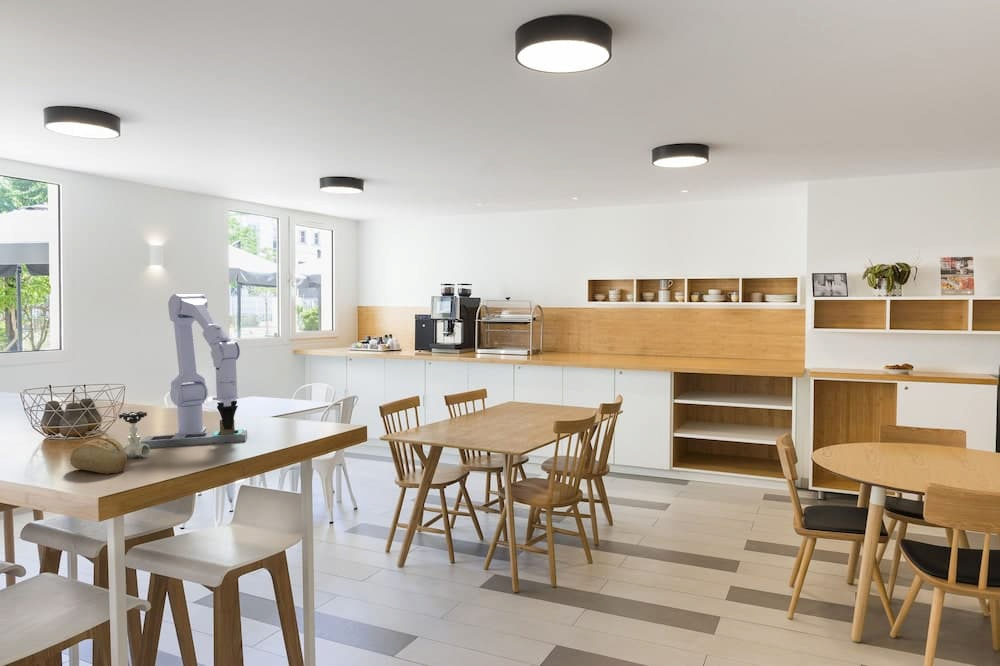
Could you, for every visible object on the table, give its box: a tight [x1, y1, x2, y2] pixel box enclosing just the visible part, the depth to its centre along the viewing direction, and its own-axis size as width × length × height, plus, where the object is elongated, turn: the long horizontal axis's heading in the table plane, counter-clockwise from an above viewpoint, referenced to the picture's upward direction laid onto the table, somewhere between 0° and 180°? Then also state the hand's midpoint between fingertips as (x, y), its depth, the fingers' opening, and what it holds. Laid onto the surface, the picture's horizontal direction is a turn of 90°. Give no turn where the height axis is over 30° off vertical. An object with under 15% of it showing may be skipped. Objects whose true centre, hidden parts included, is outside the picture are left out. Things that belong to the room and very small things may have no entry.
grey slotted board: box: [140, 428, 248, 449], centre depth 203 cm, size 8×28×2 cm, turn 106°
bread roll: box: [69, 437, 128, 475], centre depth 170 cm, size 10×15×8 cm, turn 70°
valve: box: [118, 410, 151, 459], centre depth 184 cm, size 7×7×12 cm
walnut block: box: [219, 419, 236, 435], centre depth 206 cm, size 4×4×6 cm
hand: (228, 427), depth 206 cm, fingers open, 7 cm apart
